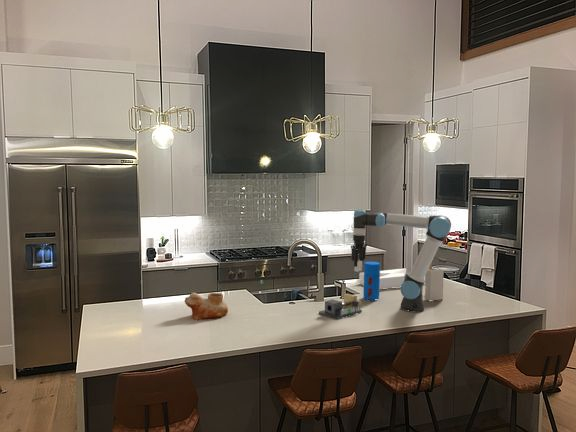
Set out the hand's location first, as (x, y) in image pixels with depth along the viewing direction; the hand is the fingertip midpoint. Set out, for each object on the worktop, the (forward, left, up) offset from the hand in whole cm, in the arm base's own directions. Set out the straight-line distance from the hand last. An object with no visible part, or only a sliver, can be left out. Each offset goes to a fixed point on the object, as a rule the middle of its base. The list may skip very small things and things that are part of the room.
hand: (358, 271), depth 336 cm
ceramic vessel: (+47, +84, -25) cm, 99 cm away
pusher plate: (-2, +13, -23) cm, 26 cm away
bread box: (+27, -72, -25) cm, 81 cm away
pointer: (-7, +10, -22) cm, 25 cm away
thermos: (+10, -26, -25) cm, 38 cm away
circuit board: (0, +16, -25) cm, 29 cm away
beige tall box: (-19, -58, -25) cm, 66 cm away
